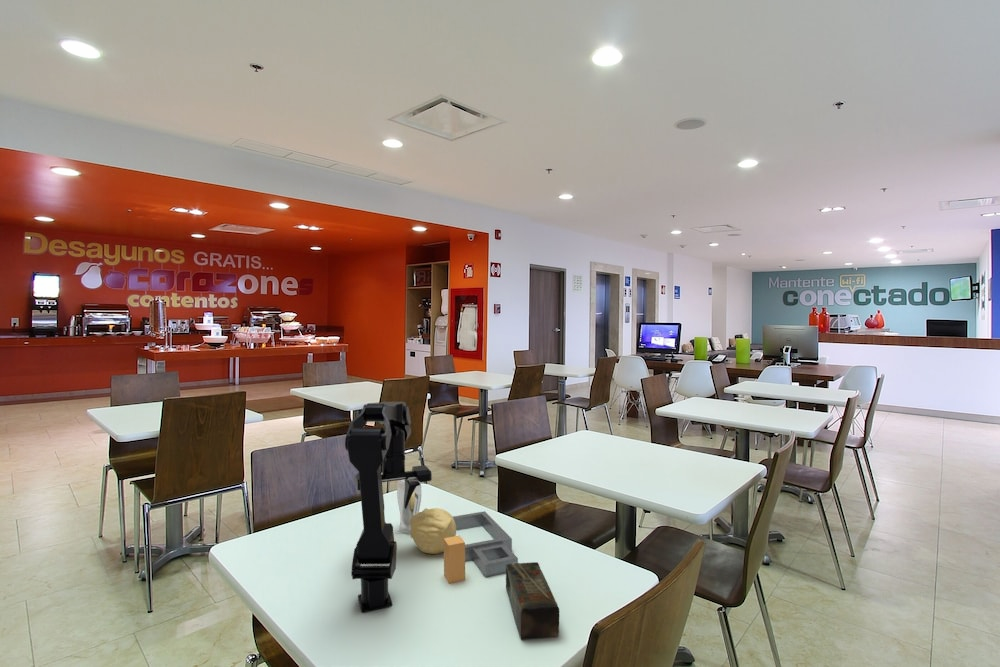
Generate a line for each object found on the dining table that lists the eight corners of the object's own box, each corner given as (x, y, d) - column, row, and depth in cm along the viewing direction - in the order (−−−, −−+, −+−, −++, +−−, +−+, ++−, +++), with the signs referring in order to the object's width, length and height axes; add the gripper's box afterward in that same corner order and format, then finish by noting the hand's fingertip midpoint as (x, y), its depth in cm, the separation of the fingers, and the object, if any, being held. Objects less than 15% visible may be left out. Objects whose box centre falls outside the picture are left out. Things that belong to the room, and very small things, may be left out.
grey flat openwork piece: (527, 568, 123) (527, 554, 123) (475, 579, 118) (475, 564, 118) (484, 522, 150) (484, 511, 150) (441, 530, 145) (441, 518, 145)
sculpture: (405, 556, 130) (404, 515, 129) (423, 536, 141) (422, 498, 141) (447, 561, 127) (446, 519, 127) (461, 540, 139) (461, 502, 138)
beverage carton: (539, 585, 116) (539, 557, 116) (561, 639, 97) (561, 605, 97) (505, 588, 115) (504, 560, 114) (520, 643, 96) (520, 609, 95)
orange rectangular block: (465, 579, 118) (464, 542, 118) (448, 583, 117) (448, 545, 116) (460, 571, 122) (459, 535, 122) (444, 575, 120) (443, 538, 120)
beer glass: (393, 532, 144) (392, 480, 143) (404, 522, 151) (404, 473, 150) (415, 535, 142) (414, 483, 141) (425, 525, 149) (425, 475, 148)
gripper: (421, 439, 140) (422, 494, 141) (352, 446, 133) (353, 504, 134) (431, 449, 130) (432, 508, 131) (357, 457, 123) (358, 520, 123)
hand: (394, 509), depth 130 cm, fingers open, 5 cm apart
